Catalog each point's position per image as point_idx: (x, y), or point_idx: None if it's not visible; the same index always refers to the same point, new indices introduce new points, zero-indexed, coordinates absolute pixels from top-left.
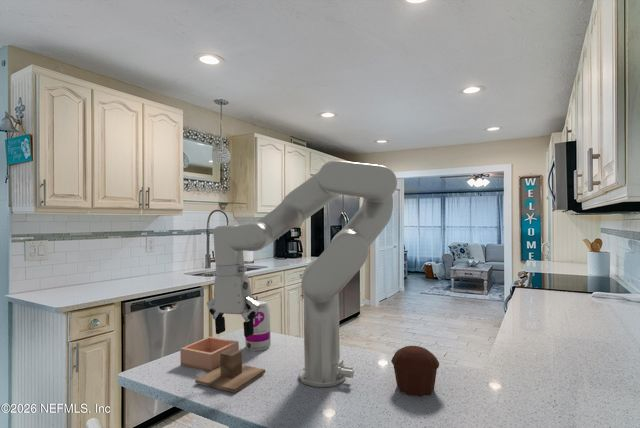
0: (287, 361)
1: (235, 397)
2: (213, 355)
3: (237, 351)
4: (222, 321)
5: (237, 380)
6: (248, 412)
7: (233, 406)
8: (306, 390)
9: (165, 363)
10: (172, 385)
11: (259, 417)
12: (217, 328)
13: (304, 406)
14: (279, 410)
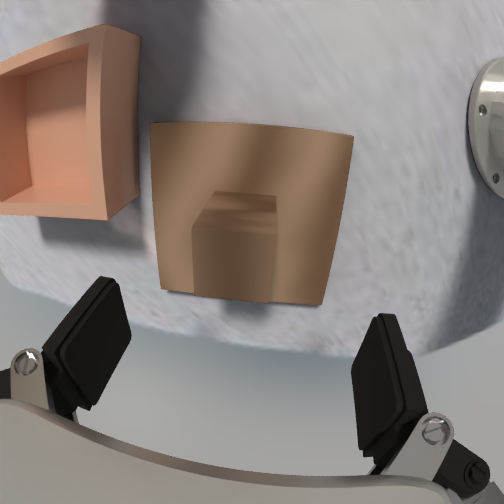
0: (372, 3)
1: (330, 307)
2: (110, 202)
3: (259, 249)
4: (86, 354)
5: (297, 256)
6: None
7: (346, 338)
8: (494, 218)
9: None
10: None
11: (414, 348)
12: (115, 362)
13: (490, 287)
14: (447, 317)
